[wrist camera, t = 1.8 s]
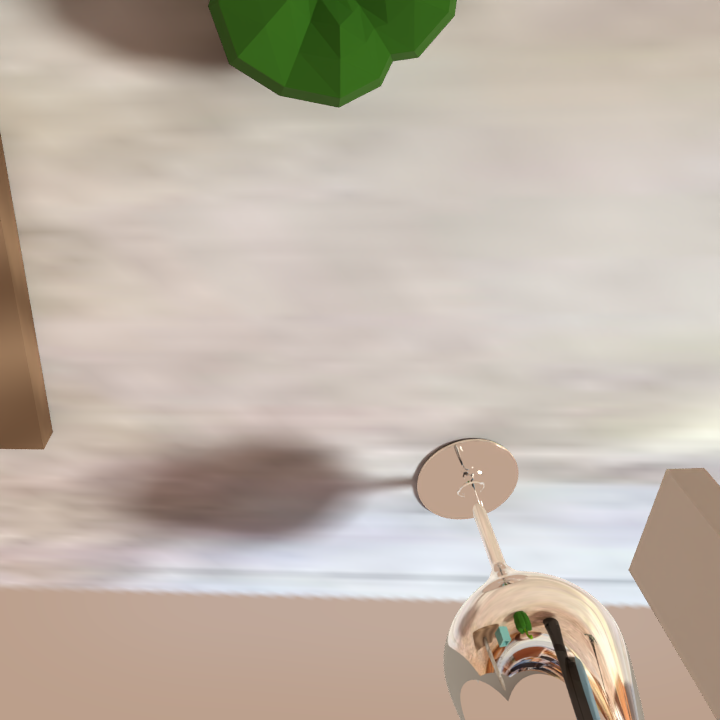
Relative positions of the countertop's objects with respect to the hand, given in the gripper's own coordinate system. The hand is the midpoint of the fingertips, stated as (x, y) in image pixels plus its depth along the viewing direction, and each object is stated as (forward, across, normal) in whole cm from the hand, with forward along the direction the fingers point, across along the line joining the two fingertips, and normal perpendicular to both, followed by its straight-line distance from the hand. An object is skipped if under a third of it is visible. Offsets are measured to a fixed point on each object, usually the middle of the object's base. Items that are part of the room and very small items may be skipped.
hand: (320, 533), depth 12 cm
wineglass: (+21, +10, -17) cm, 29 cm away
